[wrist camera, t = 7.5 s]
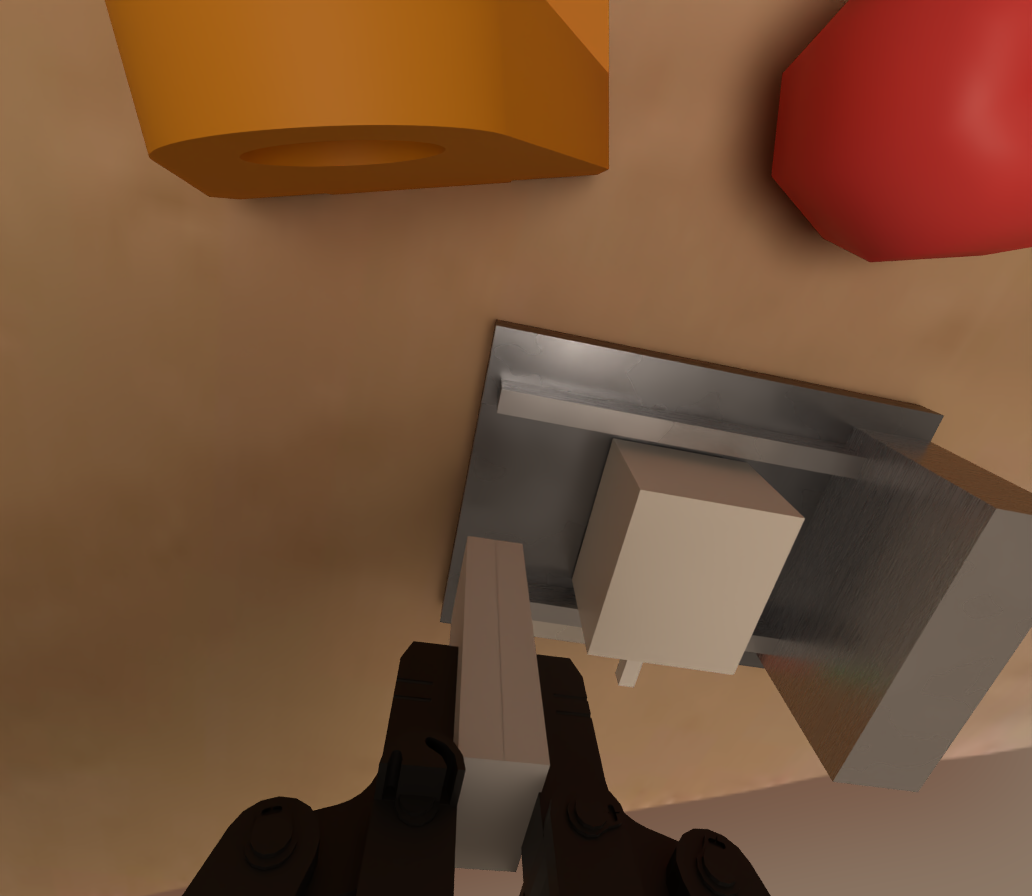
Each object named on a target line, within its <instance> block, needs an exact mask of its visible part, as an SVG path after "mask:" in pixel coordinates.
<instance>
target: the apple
mask: <svg viewBox="0 0 1032 896" xmlns="http://www.w3.org/2000/svg"><path fill="white" fill-rule="evenodd" d="M771 177H772V178H773V179H774V180H775V181H776V183H777V184H778V185H779V186H780V187H781V189H782V190H783V191H784V192H785V193H786V195H787V196H788V197H789V198H790V199H791V201H792V202H793V203H794V204H795V205H796V207H797V208H798V209H799V210H800V211H801V213H802V214H803V215H804V216H805V217H806V219H807V220H808V221H809V222H810V223H811V225H812V226H813V227H814V228H815V229H816V231H817V232H818V233H819V234H820V235H821V237H822V238H823V239H825V240H827V241H829V242H831V243H833V244H835V245H837V246H839V247H841V248H843V249H845V250H847V251H849V252H851V253H853V254H855V255H857V256H859V257H861V258H863V259H865V260H867V261H869V262H882V261H898V260H915V259H931V258H948V257H965V256H981V255H988V254H994V253H1000V252H1005V251H1011V250H1017V249H1023V248H1028V247H1032V0H849V1H848V2H847V3H846V4H845V5H844V6H843V7H842V8H841V9H840V11H839V12H838V13H837V14H836V15H835V16H834V17H833V18H832V19H831V21H830V22H829V23H828V24H827V25H826V26H825V27H824V28H823V29H822V30H821V32H820V33H819V34H818V35H817V36H816V37H815V38H814V39H813V40H812V41H811V43H810V44H809V45H808V46H807V47H806V48H805V49H804V50H803V51H802V53H801V54H800V55H799V56H798V57H797V58H796V59H795V60H794V61H793V62H792V64H791V65H790V66H789V67H788V68H787V69H786V70H785V71H784V72H783V73H782V82H781V91H780V100H779V110H778V119H777V128H776V137H775V147H774V156H773V165H772V174H771Z"/></svg>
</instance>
